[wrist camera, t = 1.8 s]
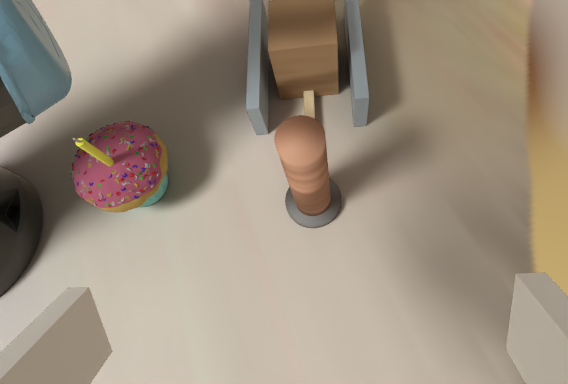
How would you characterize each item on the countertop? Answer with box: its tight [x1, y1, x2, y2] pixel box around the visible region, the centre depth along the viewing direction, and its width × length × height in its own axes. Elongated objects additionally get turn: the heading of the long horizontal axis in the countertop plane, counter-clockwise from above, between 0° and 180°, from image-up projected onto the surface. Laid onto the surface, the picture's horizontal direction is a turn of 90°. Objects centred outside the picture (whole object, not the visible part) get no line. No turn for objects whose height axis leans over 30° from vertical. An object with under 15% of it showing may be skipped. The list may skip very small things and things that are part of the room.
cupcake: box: [71, 121, 168, 212], centre depth 32 cm, size 9×8×12 cm
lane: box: [246, 0, 369, 135], centre depth 38 cm, size 14×11×4 cm
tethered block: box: [268, 0, 341, 228], centre depth 32 cm, size 20×6×12 cm, turn 0°
